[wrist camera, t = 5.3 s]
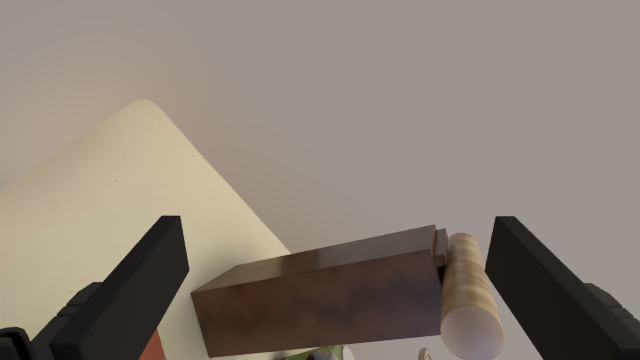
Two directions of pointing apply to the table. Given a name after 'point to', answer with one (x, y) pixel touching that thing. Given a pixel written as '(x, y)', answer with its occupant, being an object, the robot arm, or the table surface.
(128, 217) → the table surface
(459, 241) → the wooden dowel rod
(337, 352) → the beverage can
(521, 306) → the robot arm
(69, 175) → the table surface
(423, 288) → the stand
